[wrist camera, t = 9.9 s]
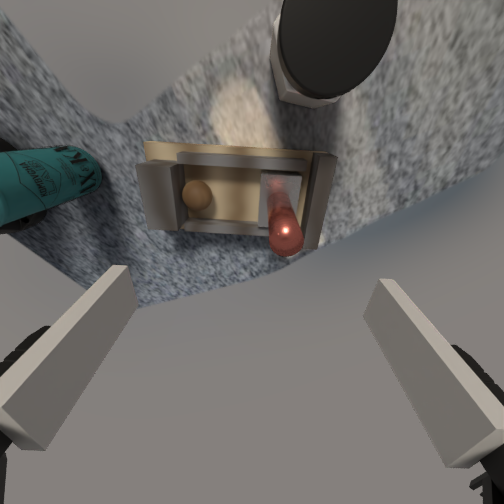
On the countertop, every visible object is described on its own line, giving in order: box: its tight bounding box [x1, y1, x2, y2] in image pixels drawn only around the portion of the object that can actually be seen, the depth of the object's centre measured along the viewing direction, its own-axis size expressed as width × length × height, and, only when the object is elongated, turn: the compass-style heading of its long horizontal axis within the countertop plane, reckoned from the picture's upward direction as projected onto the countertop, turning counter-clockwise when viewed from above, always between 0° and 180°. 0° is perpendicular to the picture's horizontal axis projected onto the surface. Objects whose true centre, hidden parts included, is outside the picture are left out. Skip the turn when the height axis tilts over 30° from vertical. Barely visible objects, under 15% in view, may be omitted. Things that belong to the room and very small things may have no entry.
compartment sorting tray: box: [135, 141, 338, 250], centre depth 30 cm, size 24×12×7 cm, turn 87°
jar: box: [270, 0, 398, 109], centre depth 21 cm, size 9×8×12 cm
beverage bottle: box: [0, 145, 102, 227], centre depth 24 cm, size 6×7×20 cm
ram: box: [258, 170, 304, 257], centre depth 26 cm, size 5×7×14 cm
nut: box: [182, 180, 213, 211], centre depth 30 cm, size 4×4×4 cm
